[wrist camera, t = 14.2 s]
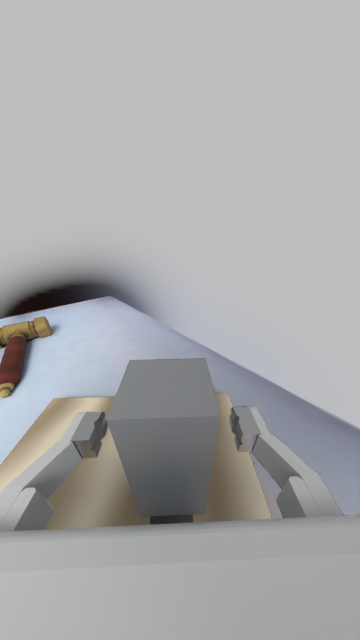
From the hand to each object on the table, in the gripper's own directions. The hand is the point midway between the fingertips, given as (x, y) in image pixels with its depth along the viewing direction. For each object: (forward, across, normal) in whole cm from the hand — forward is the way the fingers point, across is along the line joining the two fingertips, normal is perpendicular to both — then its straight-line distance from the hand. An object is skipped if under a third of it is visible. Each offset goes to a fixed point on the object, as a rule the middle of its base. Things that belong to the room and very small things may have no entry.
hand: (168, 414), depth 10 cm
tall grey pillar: (-1, 0, +7) cm, 7 cm away
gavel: (+17, +29, +9) cm, 35 cm away
